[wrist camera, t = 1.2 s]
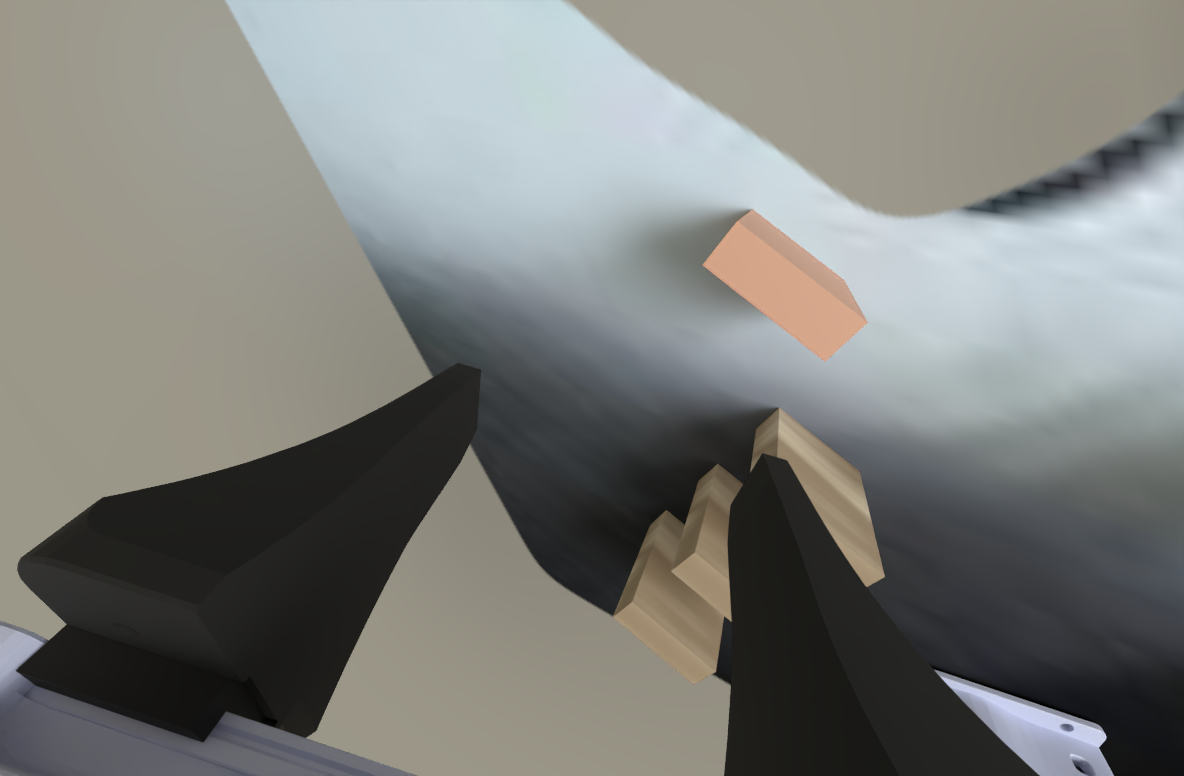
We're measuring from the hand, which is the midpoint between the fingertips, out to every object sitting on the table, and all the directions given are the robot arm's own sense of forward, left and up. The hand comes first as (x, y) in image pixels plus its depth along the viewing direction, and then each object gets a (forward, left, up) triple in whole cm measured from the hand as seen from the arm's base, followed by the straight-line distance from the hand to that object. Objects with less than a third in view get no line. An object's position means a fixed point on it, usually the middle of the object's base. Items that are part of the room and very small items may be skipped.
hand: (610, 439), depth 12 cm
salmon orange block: (-3, -3, -12) cm, 13 cm away
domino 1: (-2, +13, -12) cm, 18 cm away
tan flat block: (-4, +9, -12) cm, 16 cm away
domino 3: (-6, +6, -12) cm, 15 cm away
